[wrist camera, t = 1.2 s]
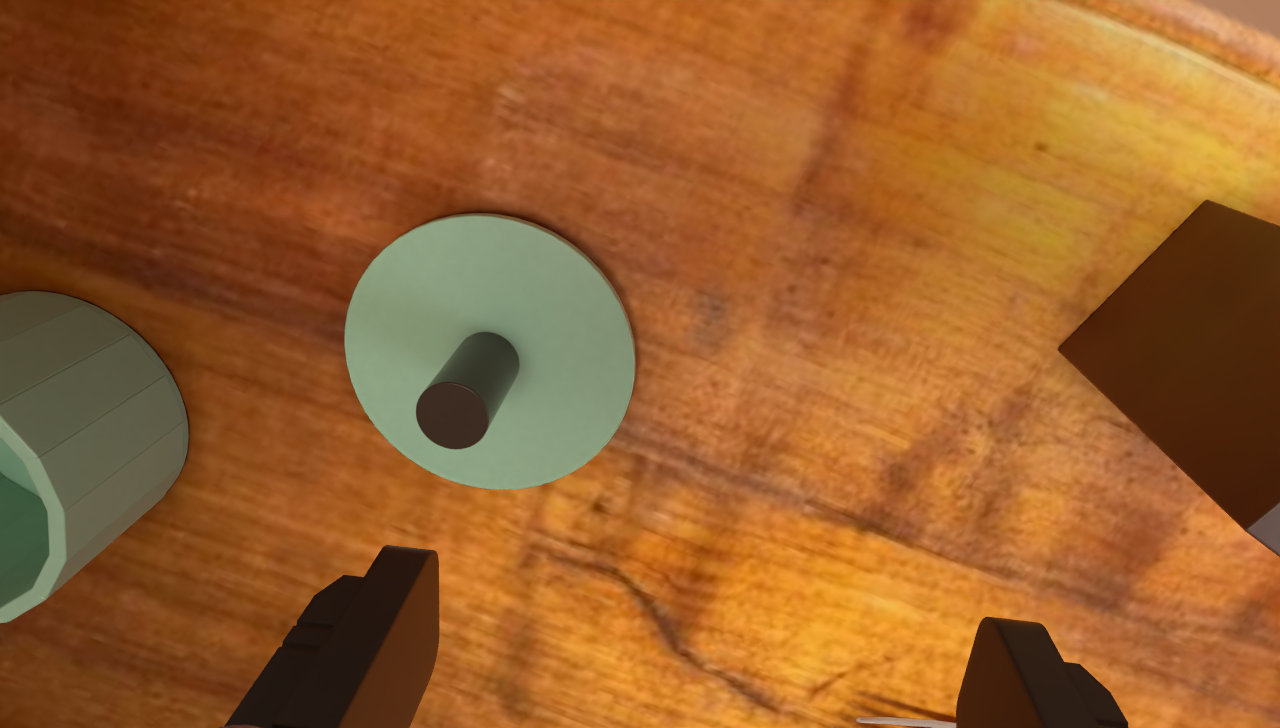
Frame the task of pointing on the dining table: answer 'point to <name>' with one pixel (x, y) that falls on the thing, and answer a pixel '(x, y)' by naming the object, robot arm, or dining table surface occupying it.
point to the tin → (76, 439)
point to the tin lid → (490, 351)
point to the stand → (1201, 359)
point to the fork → (906, 722)
